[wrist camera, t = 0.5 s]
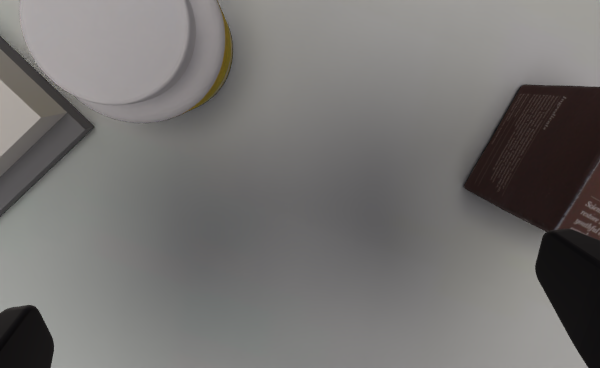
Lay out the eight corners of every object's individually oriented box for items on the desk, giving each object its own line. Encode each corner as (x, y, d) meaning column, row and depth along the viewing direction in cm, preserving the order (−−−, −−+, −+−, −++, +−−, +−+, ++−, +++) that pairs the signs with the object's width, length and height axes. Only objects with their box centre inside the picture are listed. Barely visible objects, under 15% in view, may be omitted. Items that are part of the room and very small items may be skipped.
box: (458, 185, 23) (549, 233, 16) (520, 80, 22) (645, 82, 15) (547, 233, 25) (668, 297, 18) (610, 135, 24) (765, 161, 17)
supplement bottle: (242, 0, 20) (237, -69, 11) (223, 119, 21) (203, 154, 12) (117, -29, 19) (-10, -130, 10) (104, 97, 20) (-21, 115, 11)
